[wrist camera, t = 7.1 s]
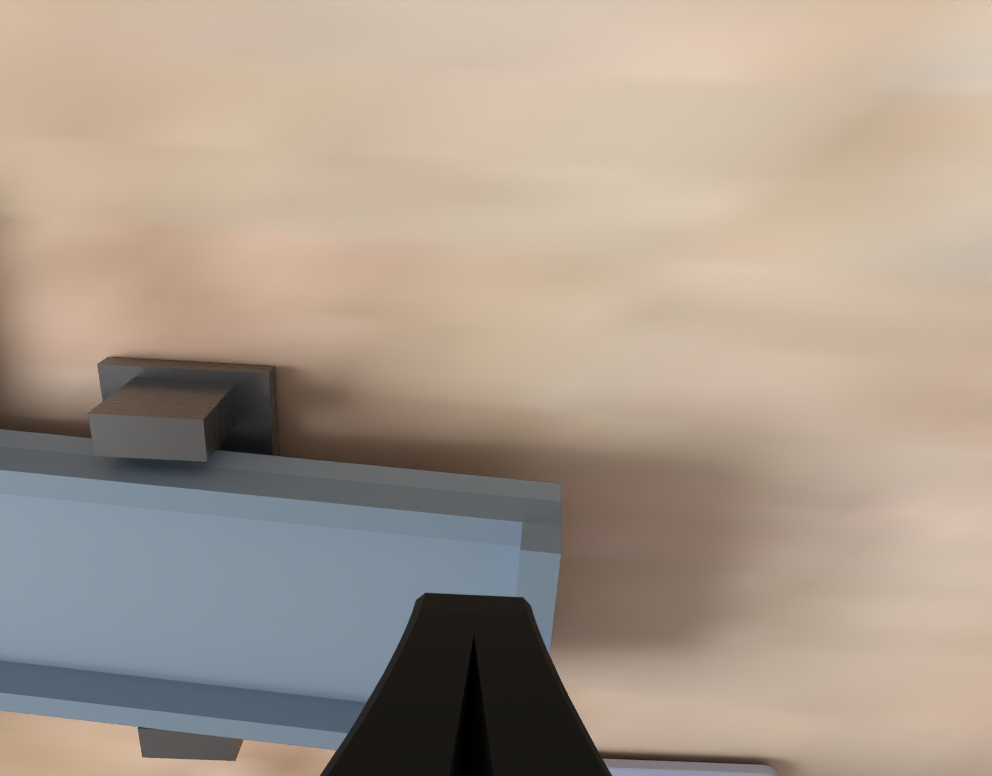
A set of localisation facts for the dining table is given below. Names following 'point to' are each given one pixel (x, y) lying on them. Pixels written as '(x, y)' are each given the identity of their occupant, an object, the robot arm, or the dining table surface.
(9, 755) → the dining table surface
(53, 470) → the blue-grey piece
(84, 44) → the dining table surface
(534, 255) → the dining table surface
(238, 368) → the stand
